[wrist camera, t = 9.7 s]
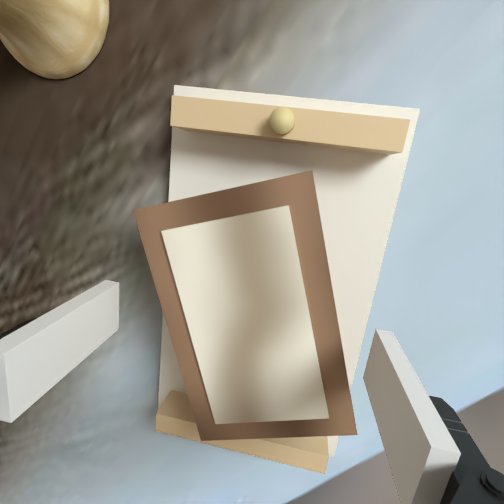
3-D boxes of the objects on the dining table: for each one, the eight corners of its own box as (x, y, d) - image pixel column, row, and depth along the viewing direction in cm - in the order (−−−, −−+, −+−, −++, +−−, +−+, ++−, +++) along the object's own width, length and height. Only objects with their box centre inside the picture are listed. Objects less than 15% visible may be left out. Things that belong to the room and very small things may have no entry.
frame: (222, 385, 23) (199, 443, 18) (173, 201, 20) (130, 210, 15) (346, 376, 21) (357, 437, 16) (311, 170, 18) (312, 170, 14)
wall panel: (163, 404, 26) (135, 447, 22) (180, 89, 20) (147, 67, 15) (332, 445, 24) (338, 501, 20) (414, 112, 18) (446, 94, 14)
